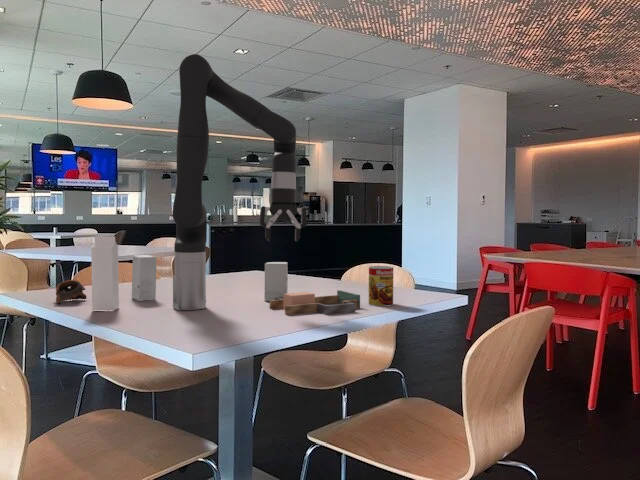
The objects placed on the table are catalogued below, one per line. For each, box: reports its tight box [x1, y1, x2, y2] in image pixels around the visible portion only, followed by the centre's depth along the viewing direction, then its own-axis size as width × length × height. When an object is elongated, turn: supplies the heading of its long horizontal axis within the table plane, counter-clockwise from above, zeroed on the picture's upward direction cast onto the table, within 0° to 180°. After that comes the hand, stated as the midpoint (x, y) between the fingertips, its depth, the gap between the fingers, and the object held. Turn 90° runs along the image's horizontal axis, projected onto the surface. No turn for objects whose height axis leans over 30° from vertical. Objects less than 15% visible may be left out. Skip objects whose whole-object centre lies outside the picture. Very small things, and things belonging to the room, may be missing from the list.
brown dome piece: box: [55, 279, 87, 304], centre depth 169 cm, size 12×10×8 cm
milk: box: [90, 235, 120, 311], centre depth 154 cm, size 6×6×22 cm
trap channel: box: [269, 290, 361, 316], centre depth 158 cm, size 25×22×4 cm
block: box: [282, 291, 316, 311], centre depth 156 cm, size 8×5×5 cm, turn 122°
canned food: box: [368, 265, 394, 307], centre depth 167 cm, size 8×8×12 cm
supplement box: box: [264, 261, 289, 302], centre depth 175 cm, size 7×7×13 cm
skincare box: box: [131, 254, 158, 302], centre depth 175 cm, size 8×6×15 cm
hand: (282, 240), depth 158 cm, fingers open, 8 cm apart
